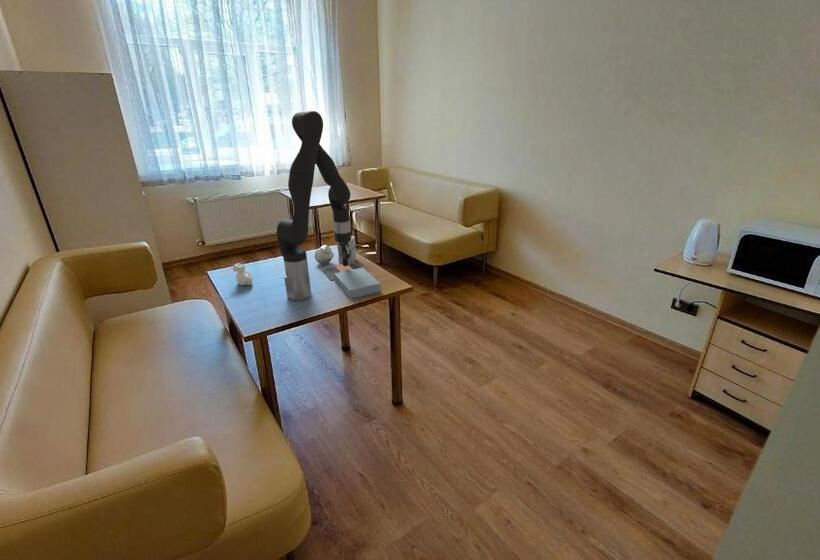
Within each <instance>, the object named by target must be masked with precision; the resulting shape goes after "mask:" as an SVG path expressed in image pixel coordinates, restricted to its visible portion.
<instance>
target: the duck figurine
mask: <svg viewBox="0 0 820 560" xmlns="http://www.w3.org/2000/svg"><path fill="white" fill-rule="evenodd" d="M245 269H246V266H245V265H244V264H242V263H239V262H237V263H235V264H233V266H232V271H233V272H237V273H236V275H235V280H236V282H237V283H238V285H240V286H253V276H252V275H251V274H250V273H249V271H247V270H245Z"/></svg>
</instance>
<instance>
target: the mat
mask: <svg viewBox="0 0 820 560" xmlns="http://www.w3.org/2000/svg"><path fill="white" fill-rule="evenodd" d="M348 265H349V266H350V267H351V268H352V269H353V270H354V269H358V268H360V267H359V266H358V265H357V264H356V263H354V262H353V264H348ZM321 271H322V273H323V274H324V275H325V276H326V277H327V278H328V280H329V281H330V282H333V281H335V277H334V274H335V273H336V271H335V266H334V267H330V268H324V269H321Z"/></svg>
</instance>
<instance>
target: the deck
mask: <svg viewBox="0 0 820 560" xmlns="http://www.w3.org/2000/svg"><path fill="white" fill-rule="evenodd" d="M334 277H335V280H334V282H335V283H336V285H337V286H338V287H339V288H340V289H341V290H342V291H343V292H344V294H345V295H346V296H347V297H348V298H349V299H350V300H352V299H356V298H360V297H364V296H368V295H372V294H377V293H381V283H380V281H378V279H376V278H375V277H374V276H373V275H372V274H371V273H369V271H367V270H366V269H365V268H364V267H359V268H358V269H354V270H349V271H344V272H339V273H335V274H334Z"/></svg>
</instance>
